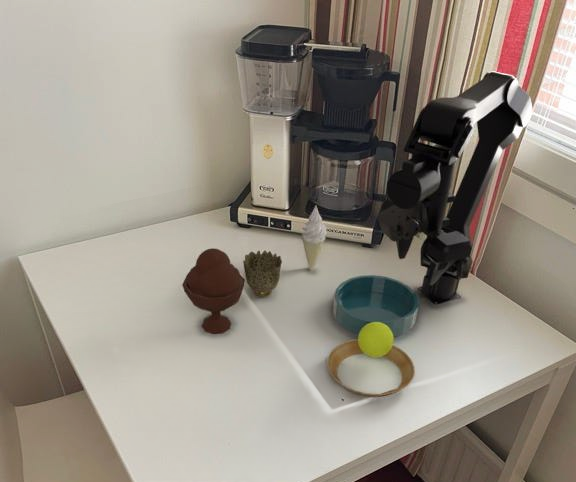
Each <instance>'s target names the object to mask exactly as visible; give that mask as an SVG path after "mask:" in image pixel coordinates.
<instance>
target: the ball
mask: <svg viewBox="0 0 576 482" xmlns="http://www.w3.org/2000/svg"><path fill="white" fill-rule="evenodd" d="M357 339H358V344H359V347H360V349H361V350H362V352H363V353H365V354H364V355H366V356H368V357H371V358H381V357H382V356H383V355H385V354H387V353H388V352H389V351H390V350H391V348H392V346H393V345H394V340H395V337H393V333H392V331H391V330H390V328H389V327H388V326H387V325H385V324H383V323H380V322H372V323H369V324H367V325H365V326H364V327H363V328H362V329H361V331H360V333H359V335H357Z"/></svg>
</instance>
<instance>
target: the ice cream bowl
mask: <svg viewBox="0 0 576 482" xmlns="http://www.w3.org/2000/svg"><path fill="white" fill-rule="evenodd" d="M245 283H246V278H244V277H243V275H242V274H241V273H240V271H239V269H238V268H237V267H235V266H234V265H233V264H232V263H231V259H230V258H229V255H228V254H227V253H226V252H225V251H223V250H221V249H219V248H213V247H212V248H208V249H205V250H204V251H202V252H201V253H200V254H199V255H198V257H197V259H196V261H195V265H194V266H192V267H191V268H190V270H189V271H188V272H187V274H186V276H185V278H184V280H183V283H182V284H181V285H182V289H183V291H184V293H185V295H186V296H187V298H188V299H189V300H190V301H191V303H192V305H193V306H194V307H196V308H198V309H199V310H203V311H206V312H209V313H210V315H208V316H207V317H204V319H203V322H202V324H201V328H202V329H203V330H204V332H205V333H209V334H212V335H217V334H224V333H225V332H228V331H229V330H230V329H231V326H232V322H231V320H230V319H229V318H228V317H227V316H225V315H222V314H221V313H222V312H224V311H226V310H228V309H230V308H231V307H233V306H235V305H236V304H237V303H238V302H239V301H240V299H241V297H242V293H243V290H244V287H245Z"/></svg>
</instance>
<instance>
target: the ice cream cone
mask: <svg viewBox="0 0 576 482" xmlns="http://www.w3.org/2000/svg"><path fill="white" fill-rule="evenodd" d="M322 220H323V218H322V216H321V215H320V213H319V210H318V207H317V205H314V207H313V210H312V212H311V213H310V215H309V217H308V221H307V222H305V223H304V226H305V227H304V226H303V227H302V228H301V229H302V230H303V231H304V232H301V235H300V238H301V240H302V244H303V249H304V253H305V258H306V261H307V265H308V268H309V271H314V269H315V266H316V264H317V262H318V258H319V256H320V253H321V251H322V247H323V245H324V242H325V241H326V240H327V237H326V236H327V227H326V225H325V223H323V221H322Z"/></svg>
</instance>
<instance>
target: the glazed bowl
mask: <svg viewBox="0 0 576 482" xmlns="http://www.w3.org/2000/svg"><path fill="white" fill-rule="evenodd" d="M419 300H420V299H419V297H418V295H417V294H416V292H415V290H413V289H412V288H411V287H410V286H409V285H407V284H405V283H403V281H400V280H398V279H395V278H391V277H388V276H382V275H377V274H376V275H375V274H370V275H358V276H354V277H350V278H348V279H346V280H345V281H342V282H341V283H339V285H338V286H337V288H336V289H335V292H334V296H333V306H332V313H333V316H334V319H335V321H336V322H337V324H338V325H340V327H342V328H343V329H344V330H346V331H347V332H350V333H352V334H354V335H356V336H359V333H360V331H361V329H362V328H363V327H364V326H365V325H367V324H369V323H372V322H380V323H383V324H385V325H387V326H388V327H389V328H390V330H391V331H392V333H393V337H394V338H396V337H399V336H402V335H404V334H406V333H408V332H409V331H411V329H412V328H413V327H414V325H415V323H416V320H417V315H418V311H419Z"/></svg>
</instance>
